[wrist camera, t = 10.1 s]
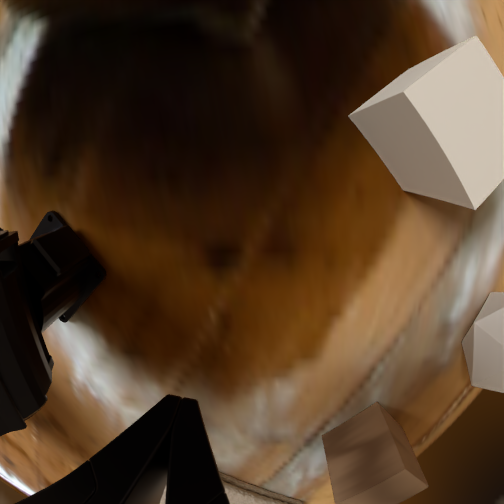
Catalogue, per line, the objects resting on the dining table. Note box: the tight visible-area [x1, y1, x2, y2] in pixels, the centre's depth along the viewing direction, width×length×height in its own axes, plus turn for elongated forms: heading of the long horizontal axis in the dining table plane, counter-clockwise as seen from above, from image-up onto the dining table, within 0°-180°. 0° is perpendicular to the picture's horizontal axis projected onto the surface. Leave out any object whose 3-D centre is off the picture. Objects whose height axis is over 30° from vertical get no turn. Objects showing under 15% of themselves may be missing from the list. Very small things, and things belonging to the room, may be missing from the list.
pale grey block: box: [348, 36, 504, 210], centre depth 14 cm, size 6×6×8 cm
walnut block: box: [322, 402, 429, 504], centre depth 21 cm, size 6×6×8 cm
